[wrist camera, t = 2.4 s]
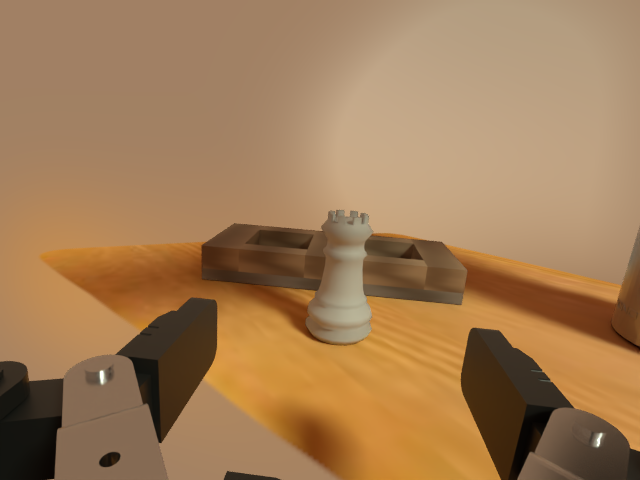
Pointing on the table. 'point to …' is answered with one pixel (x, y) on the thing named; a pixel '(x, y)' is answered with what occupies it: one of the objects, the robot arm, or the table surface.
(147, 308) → the table surface
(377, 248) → the slot rail
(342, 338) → the rook chess piece
